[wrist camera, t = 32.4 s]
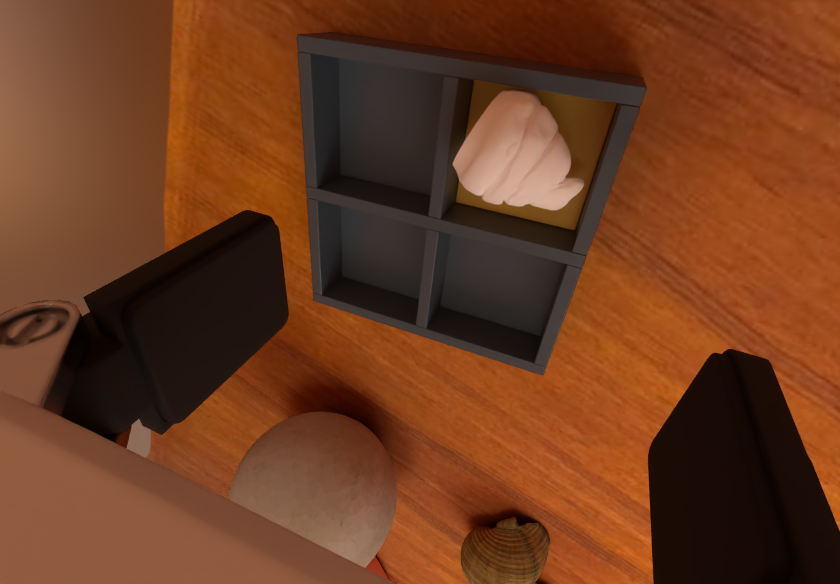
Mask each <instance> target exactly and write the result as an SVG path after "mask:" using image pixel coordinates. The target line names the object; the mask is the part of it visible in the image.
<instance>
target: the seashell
mask: <svg viewBox="0 0 840 584" xmlns="http://www.w3.org/2000/svg"><path fill="white" fill-rule="evenodd" d="M516 520H517V519H516V517H512V518H510V519H503V520H501V521H499V522H498V523H497V525H496V527H494V528H490V527H485V526H481V527H477V528H475V529H473V530H472V531H471V532H470V533H469V534H468V535H467V537H466V538H465V540H464V542H463V545H462V548H461V565H462V569H463V572H464V574H465V576H466V578H467V579H468V580H469V582H470V583H471V584H534V583H535V582H536V581H537V579H538V578H539V577H540V575H541V573H542V571H543V569H544V566H545V562H546V559H547V555H548V550H549V545H550V538H549V536H548V533H547V531H546V530H545V529H544V528H543V526H542V525H540V524H539V523H526V524H524V525H521V526H519V525H518V523H517V521H516Z"/></svg>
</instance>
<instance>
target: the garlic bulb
mask: <svg viewBox="0 0 840 584" xmlns="http://www.w3.org/2000/svg"><path fill="white" fill-rule="evenodd" d="M453 166H454V168H455V170H456V172H457V175H458V178H459V181H460V182H461V183H462V185H463V186H464V188H465V189H466V190H468V191H470V192H471V193H473V194H475V195H478V196H481V195H482V199H483V200H484V201H486V202H489V203H492V204H497V205H499V204H502V202H503V201H505V203H506V204H508V205H512V206H518V207H521V206H524V205H526V204H530V205H532V206H535V207H539V208H543V209H548V210H559V209H561V208H562V207H564V206H565V205H566V204H567V203H568V202H569V201H570V199H571V198H573V197H574V196H576V195H577V194H578V193H579V192H580V191H581V189H582V188H583V186H584V181H583V179H581V178H565V176H566V175H567V174H568V172H569V170H570V166H571V154H570V151H569V148H568V146H567V144H566V142H565V141H564V138H563V137H562V135H561V134H559V131H558V125H557V123H556V121H555V119H554V118H553V116H552V115H551V113H550V112H549V110H548V109H547V108H546V107H545V106H542V105H541V102H540V99H539V97H538V96H537V95H535V94H534V93H531V92H527V91H520V90H509V91H502V92H501V93H499V94H498V95H497V97H496V98H495V99H494V100H493V101H492V102H491V104H490V105H489V106H488V107H487V109H486V110H485V112H484V113H483V114H482V116H481V117H480V119H479V120H478V121H477V123H476V124H475V126H474V127H473V129H472V130H471V132H470V133H469V135H468V137H467V138H466V140H465V141H464V143H463V145H462V146H461V148H460V150H459V152H458V153H457V155H456V157H455V159H454V162H453Z"/></svg>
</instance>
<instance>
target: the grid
mask: <svg viewBox="0 0 840 584" xmlns="http://www.w3.org/2000/svg"><path fill="white" fill-rule="evenodd" d="M297 44H298V51H299V52H298V63H299V79H300V95H301V111H302V127H303V143H304V159H305V176H306V185H307V186H306V190H307V197H308V198H307V204H308V220H309V237H310V253H311V269H312V285H313V301H316V302H319V303H322V304H325V305H328V306H331V307H334V308H337V309H340V310H343V311H346V312H349V313H352V314H355V315H359V316H362V317H365V318H368V319H371V320H374V321H377V322H380V323H383V324H386V325H389V326H392V327H395V328H398V329H401V330H405V331H408V332H411V333H414V334H417V335H420V336H423V337H426V338H429V339H432V340H435V341H438V342H441V343H444V344H448V345H451V346H454V347H457V348H460V349H463V350H466V351H469V352H472V353H475V354H478V355H481V356H484V357H487V358H490V359H494V360H497V361H500V362H503V363H506V364H509V365H512V366H515V367H518V368H521V369H524V370H527V371H530V372H533V373H537V374H540V375H544V372H545V369H546V366H547V364H548V361H549V358H550V356H551V353H552V350H553V347H554V345H555V342H556V339H557V336H558V333H559V331H560V328H561V325H562V322H563V320H564V317H565V314H566V311H567V309H568V306H569V303H570V300H571V298H572V295H573V292H574V289H575V286H576V284H577V281H578V278H579V275H580V273H581V270H582V267H583V264H584V262H585V259H586V255H587V253H588V250H589V248H590V245H591V242H592V239H593V237H594V234H595V231H596V228H597V226H598V223H599V220H600V217H601V214H602V212H603V209H604V206H605V203H606V201H607V198H608V195H609V192H610V190H611V187H612V184H613V181H614V178H615V176H616V173H617V170H618V167H619V165H620V162H621V159H622V156H623V154H624V151H625V148H626V145H627V143H628V140H629V137H630V134H631V131H632V129H633V126H634V123H635V120H636V118H637V115H638V112H639V109H640V107H639V106H641V104H642V101H643V98H644V96H645V93H646V90H647V86H646V84H645V81H644V78H643V77H637V76H631V75H624V74H617V73H610V72H603V71H596V70H589V69H582V68H575V67H569V66H562V65H555V64H548V63H541V62H534V61H527V60H520V59H513V58H507V57H500V56H493V55H486V54H479V53H472V52H465V51H458V50H451V49H445V48H438V47H431V46H424V45H417V44H410V43H403V42H396V41H389V40H383V39H376V38H369V37H362V36H355V35H348V34H341V33H334V32H328V33H313V34H298V35H297ZM509 90H520V91H527V92H531V93H534V94H535V95H537V96H538V97H539V99H540V102H541V105H542V106H545V107H546V108H547V109H548V110H549V112H550V113H551V115H552V116H553V118H554V119H555V121H556V123H557V125H558V131H559V134H561V135H562V137H563V138H564V141H565V142H566V144H567V146H568V148H569V151H570V154H571V166H570V170H569V172H568V174H567V175H566V176H565V178H581V179H583V181H584V186H583V188H582V189H581V191H580V192H579V193H578V194H577V195H576V196H574V197H573V198H571V199H570V201H569V202H568V203H567V204H566V205H565V206H564V207H562V208H561V209H559V210H548V209H543V208H539V207H535V206H532V205H530V204H526V205H524V206H521V207H518V206H512V205H508V204H506V203H505V201H503V202H502V204H499V205H497V204H492V203H489V202H486V201H484V200H483V199H482V195H481V196H478V195H475V194H473V193H471V192H470V191H468V190H466V189H465V188H464V186H463V185H462V183H461V182H460V181H459V178H458V175H457V172H456V170H455V168H454V166H453V162H454V159H455V157H456V155H457V153H458V152H459V150H460V148H461V146H462V145H463V143H464V141H465V140H466V138H467V137H468V135H469V133H470V132H471V130H472V129H473V127H474V126H475V124H476V123H477V121H478V120H479V119H480V117H481V116H482V114H483V113H484V112H485V110H486V109H487V107H488V106H489V105H490V104H491V102H492V101H493V100H494V99H495V98H496V97H497V95H498V94H499V93H501V92H502V91H509Z"/></svg>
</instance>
